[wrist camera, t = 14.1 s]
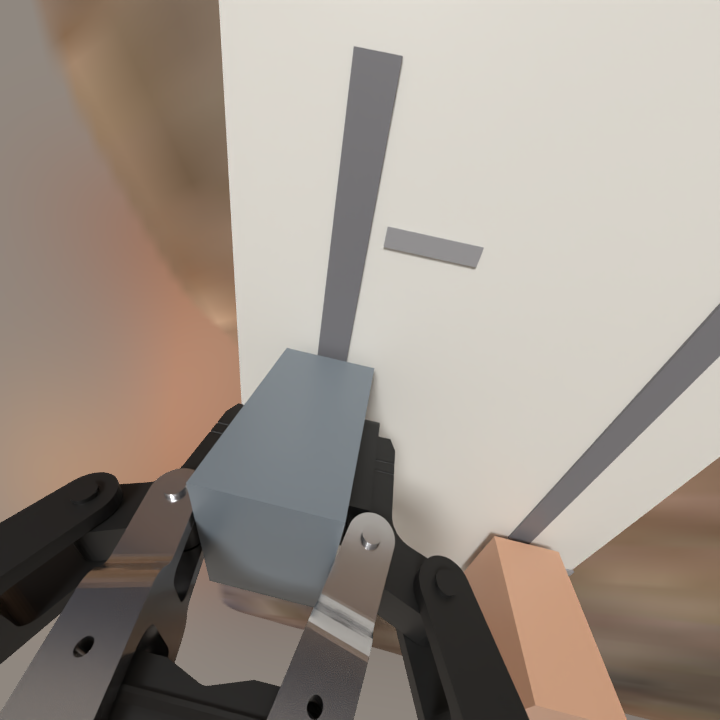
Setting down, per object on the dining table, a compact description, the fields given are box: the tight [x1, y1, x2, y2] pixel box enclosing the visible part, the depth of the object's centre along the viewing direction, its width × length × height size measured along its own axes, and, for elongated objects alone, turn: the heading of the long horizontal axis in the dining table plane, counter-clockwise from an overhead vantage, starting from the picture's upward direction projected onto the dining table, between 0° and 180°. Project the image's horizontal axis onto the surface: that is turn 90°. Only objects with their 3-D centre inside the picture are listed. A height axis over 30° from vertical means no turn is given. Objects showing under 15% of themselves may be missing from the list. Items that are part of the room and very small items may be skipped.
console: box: [219, 0, 720, 576], centre depth 15 cm, size 30×20×2 cm
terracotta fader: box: [464, 536, 627, 720], centre depth 14 cm, size 5×4×6 cm
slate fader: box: [186, 348, 374, 607], centre depth 10 cm, size 5×4×6 cm
